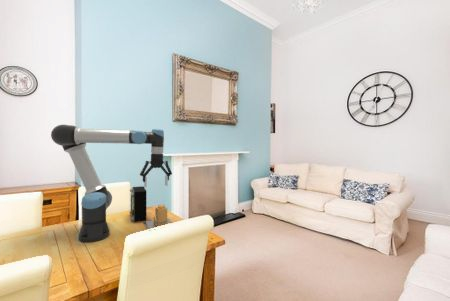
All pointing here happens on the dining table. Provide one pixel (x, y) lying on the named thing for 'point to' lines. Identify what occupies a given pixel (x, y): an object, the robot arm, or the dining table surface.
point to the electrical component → (138, 204)
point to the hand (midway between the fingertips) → (156, 186)
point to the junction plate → (151, 223)
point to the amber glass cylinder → (155, 221)
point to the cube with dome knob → (161, 213)
